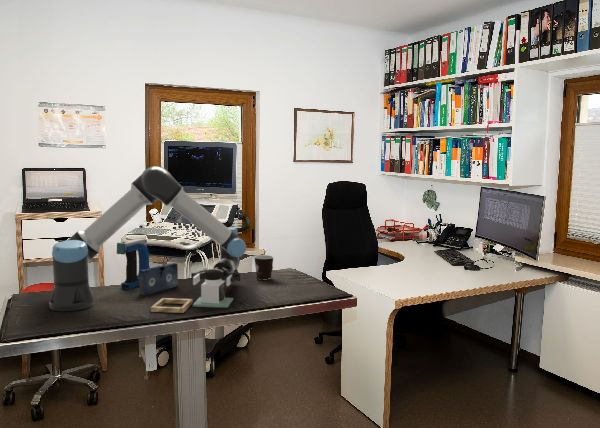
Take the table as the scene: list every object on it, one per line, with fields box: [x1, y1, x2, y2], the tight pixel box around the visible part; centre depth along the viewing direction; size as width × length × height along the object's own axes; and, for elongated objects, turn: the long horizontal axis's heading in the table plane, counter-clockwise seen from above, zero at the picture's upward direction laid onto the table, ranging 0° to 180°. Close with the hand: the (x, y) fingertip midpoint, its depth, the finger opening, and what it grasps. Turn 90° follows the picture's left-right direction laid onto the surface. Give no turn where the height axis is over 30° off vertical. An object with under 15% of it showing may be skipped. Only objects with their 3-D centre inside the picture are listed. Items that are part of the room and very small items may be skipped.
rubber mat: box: [192, 296, 234, 308], centre depth 191 cm, size 13×10×1 cm
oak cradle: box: [150, 297, 194, 314], centre depth 185 cm, size 12×12×2 cm
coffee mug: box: [254, 254, 274, 279], centre depth 228 cm, size 12×9×10 cm
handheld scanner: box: [116, 238, 150, 290], centre depth 213 cm, size 5×16×20 cm, turn 158°
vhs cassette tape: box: [138, 262, 179, 296], centre depth 208 cm, size 18×3×10 cm, turn 145°
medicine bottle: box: [200, 268, 226, 304], centre depth 190 cm, size 7×7×12 cm
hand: (210, 281), depth 186 cm, fingers open, 12 cm apart
